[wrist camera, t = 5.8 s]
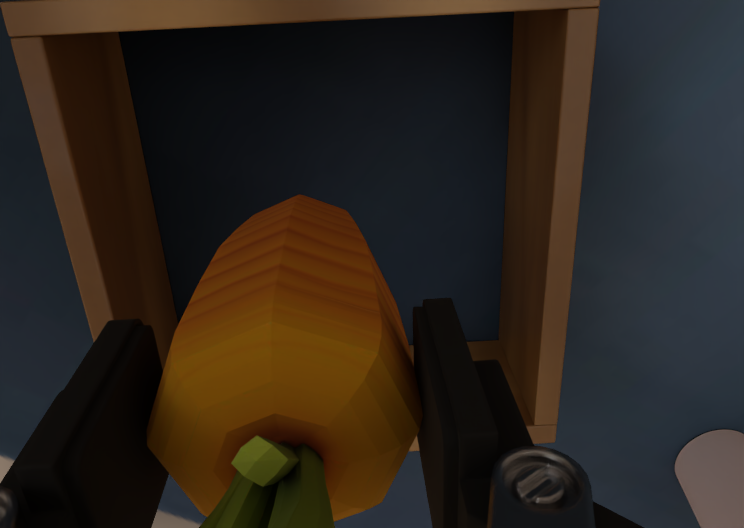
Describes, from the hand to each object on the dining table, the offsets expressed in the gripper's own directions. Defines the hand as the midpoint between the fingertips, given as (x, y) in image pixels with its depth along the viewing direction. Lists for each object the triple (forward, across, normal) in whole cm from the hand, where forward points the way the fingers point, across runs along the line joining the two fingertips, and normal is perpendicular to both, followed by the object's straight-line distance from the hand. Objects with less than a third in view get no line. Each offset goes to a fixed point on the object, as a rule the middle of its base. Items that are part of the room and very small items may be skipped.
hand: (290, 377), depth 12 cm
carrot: (+9, 0, 0) cm, 9 cm away
